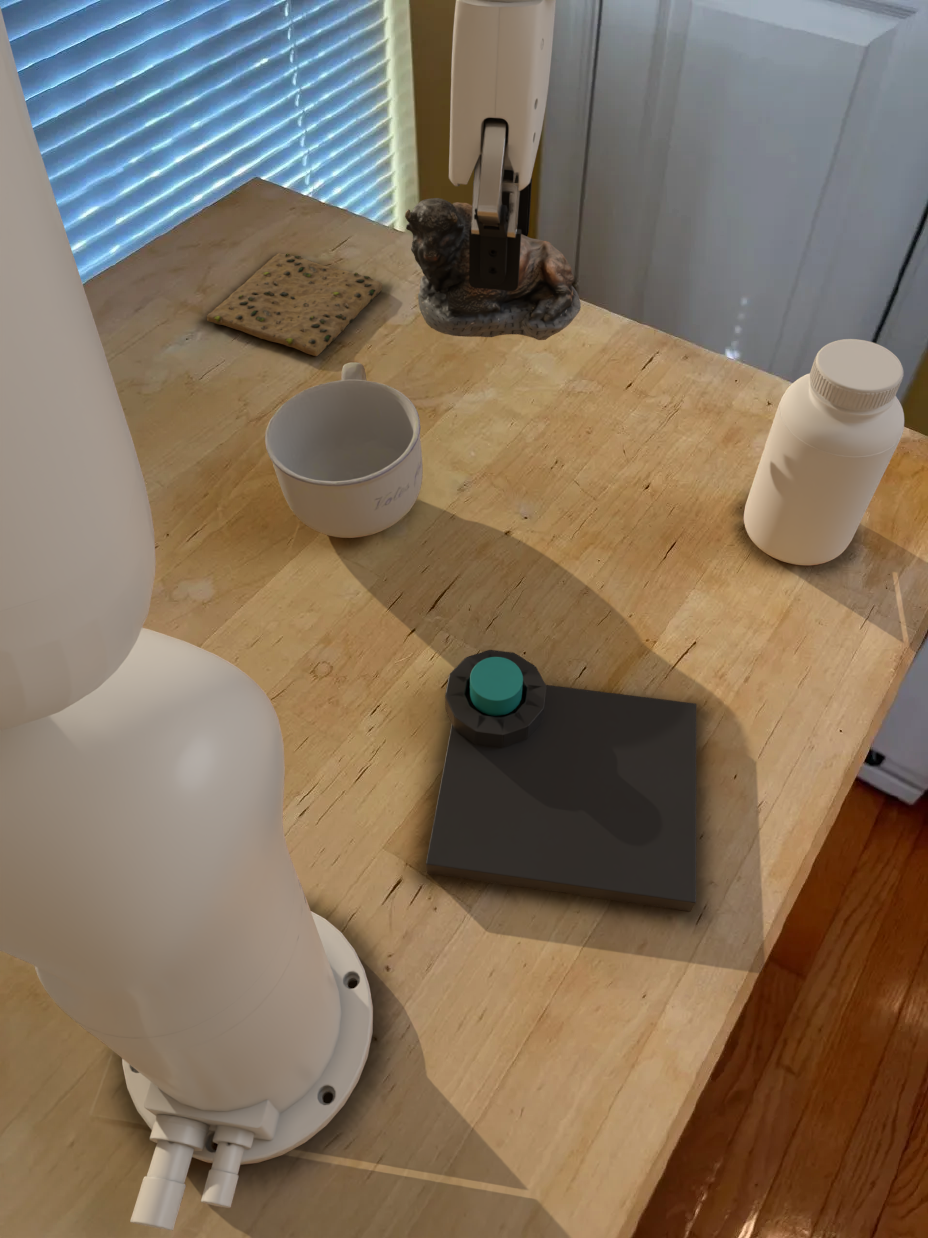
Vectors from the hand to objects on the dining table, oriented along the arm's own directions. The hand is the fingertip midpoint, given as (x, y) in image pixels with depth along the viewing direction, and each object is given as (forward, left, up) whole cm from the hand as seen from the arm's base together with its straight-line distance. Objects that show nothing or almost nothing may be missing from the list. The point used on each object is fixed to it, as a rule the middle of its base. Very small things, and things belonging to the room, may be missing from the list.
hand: (499, 257), depth 63 cm
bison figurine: (0, 0, -6) cm, 6 cm away
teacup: (-8, +9, -16) cm, 20 cm away
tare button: (-26, -4, -13) cm, 30 cm away
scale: (-31, -9, -16) cm, 36 cm away
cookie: (+15, +20, -16) cm, 30 cm away
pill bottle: (-7, -24, -16) cm, 29 cm away
